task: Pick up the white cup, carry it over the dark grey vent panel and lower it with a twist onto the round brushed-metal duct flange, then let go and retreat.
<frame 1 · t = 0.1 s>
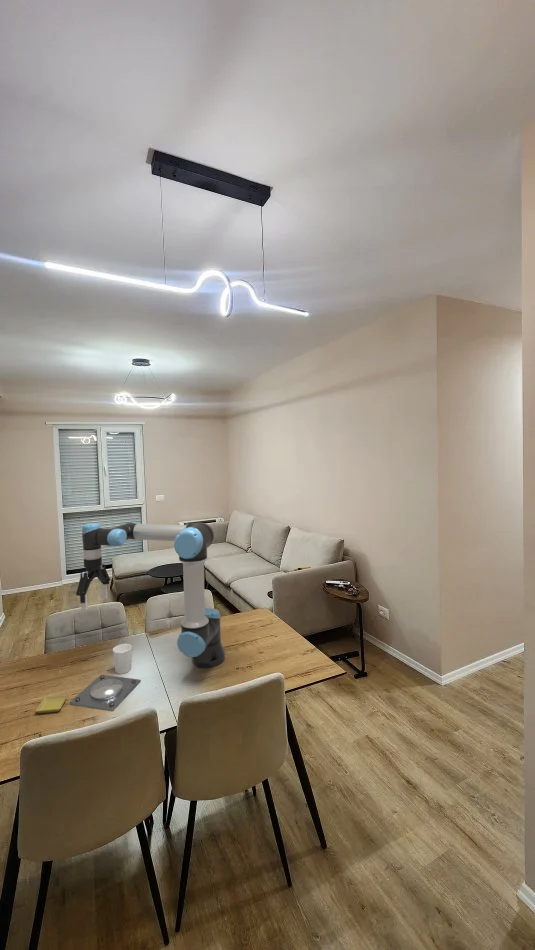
hand: (94, 603, 178), 28 cm above the table, fingers open, 13 cm apart
vent panel: (106, 692, 158), on the table
white cup: (123, 670, 174), on the table
yellow square tray: (52, 708, 150), on the table
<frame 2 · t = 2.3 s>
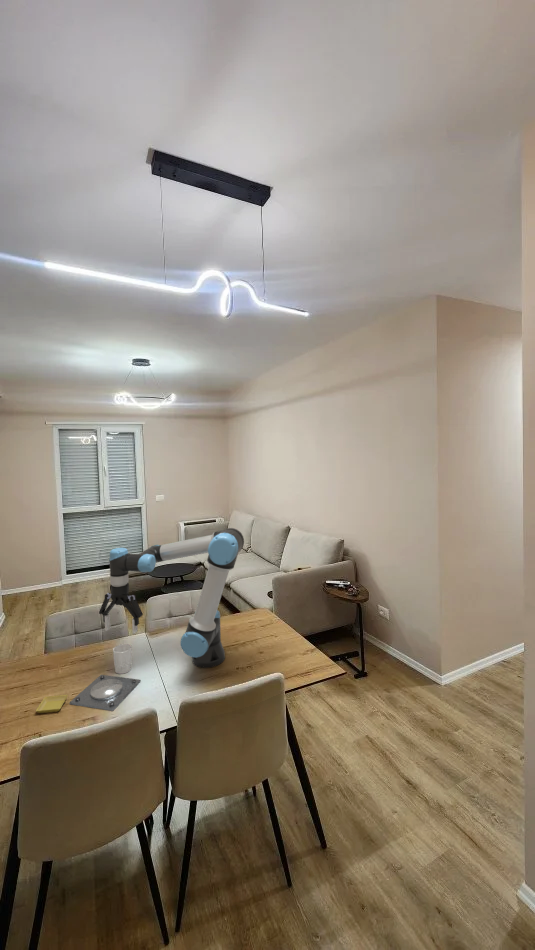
hand: (121, 630, 173), 18 cm above the table, fingers open, 13 cm apart
nothing on the table moved.
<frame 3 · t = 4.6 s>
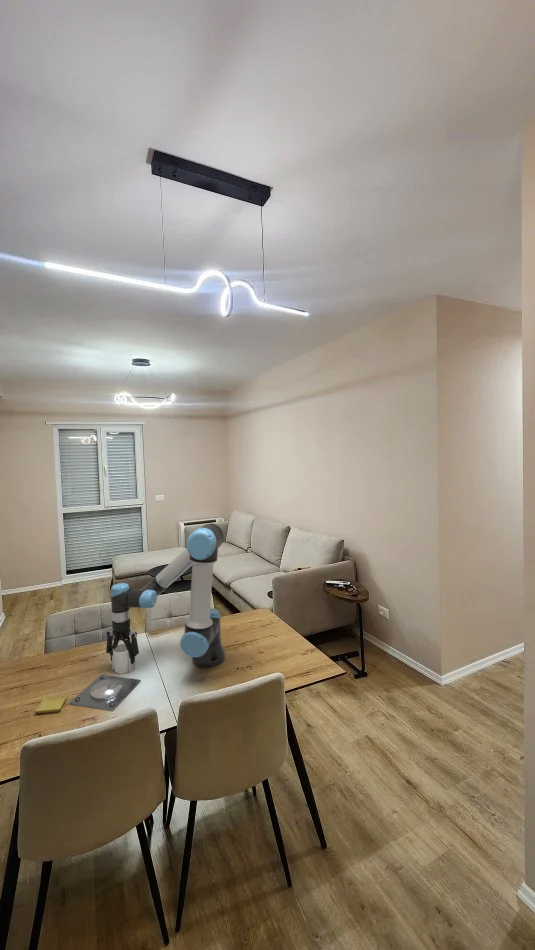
hand: (123, 669, 174), 0 cm above the table, fingers closed on white cup, 7 cm apart
white cup: (123, 670, 174), on the table, touching gripper
everything else where it was.
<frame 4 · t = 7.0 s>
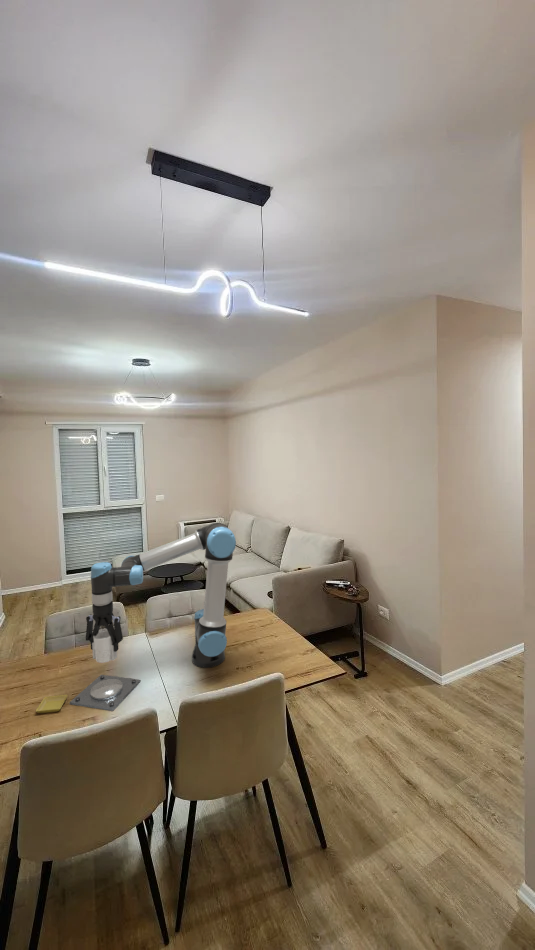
hand: (105, 657, 157), 14 cm above the table, fingers closed on white cup, 7 cm apart
white cup: (105, 658, 157), point 14 cm above the table, touching gripper
everything else where it was.
when the fingers open (3 cm above the table, at t = 9.5 s): white cup stays where it is, resting on vent panel.
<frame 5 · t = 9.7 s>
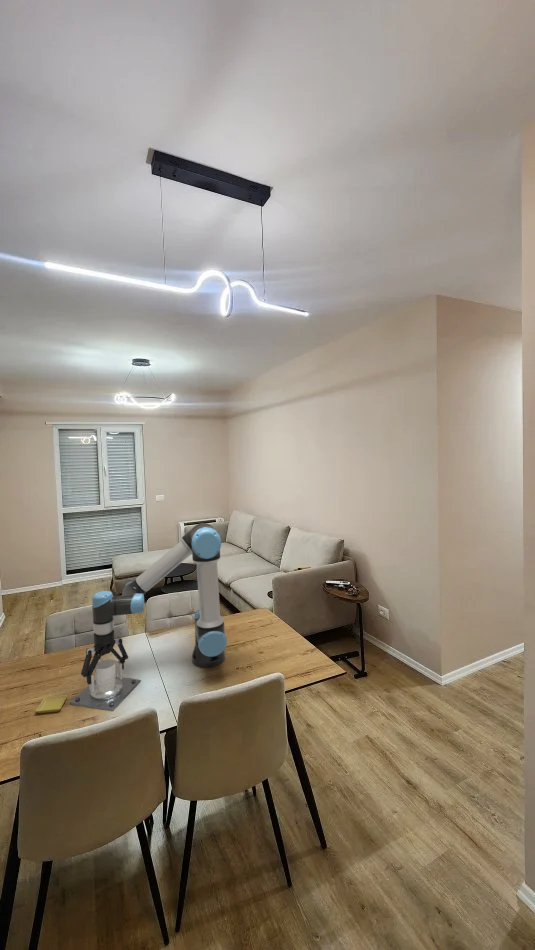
hand: (106, 684, 158), 3 cm above the table, fingers open, 11 cm apart
white cup: (106, 688, 158), point 2 cm above the table, touching vent panel
everything else where it was.
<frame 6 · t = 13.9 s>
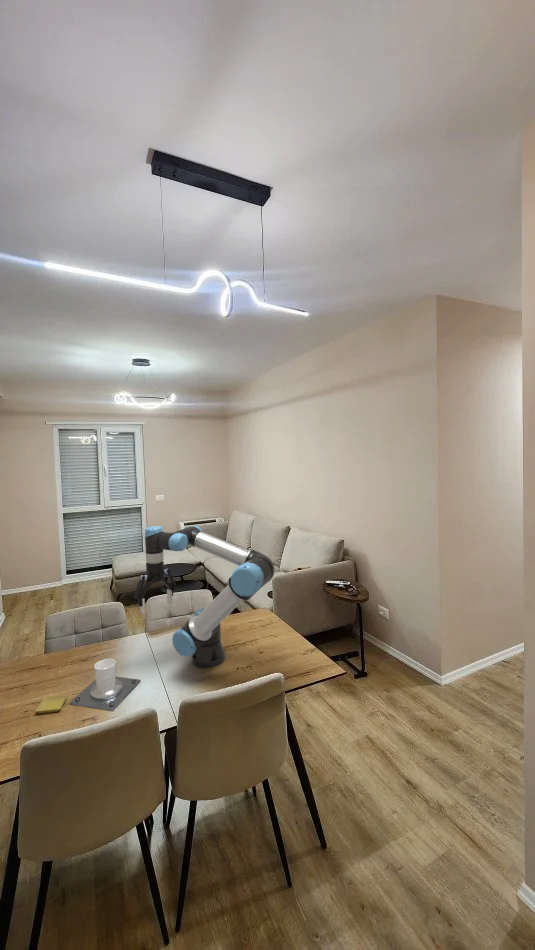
hand: (156, 608, 175), 27 cm above the table, fingers open, 13 cm apart
nothing on the table moved.
at the end: white cup 0.1 cm from the vent panel (horizontally); white cup tilted 0°; white cup touching vent panel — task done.
